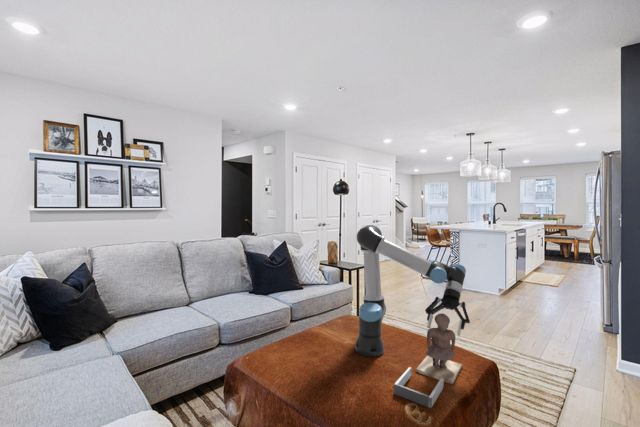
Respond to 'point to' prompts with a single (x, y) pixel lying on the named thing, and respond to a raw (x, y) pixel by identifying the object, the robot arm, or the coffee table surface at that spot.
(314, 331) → the coffee table surface
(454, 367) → the cream square slab
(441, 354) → the clay figurine
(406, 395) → the grey channel
